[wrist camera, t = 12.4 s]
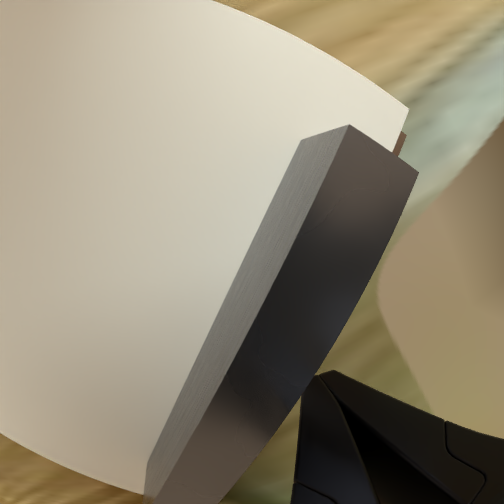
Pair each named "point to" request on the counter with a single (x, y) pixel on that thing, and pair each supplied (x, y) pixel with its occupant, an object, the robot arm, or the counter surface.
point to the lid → (178, 232)
